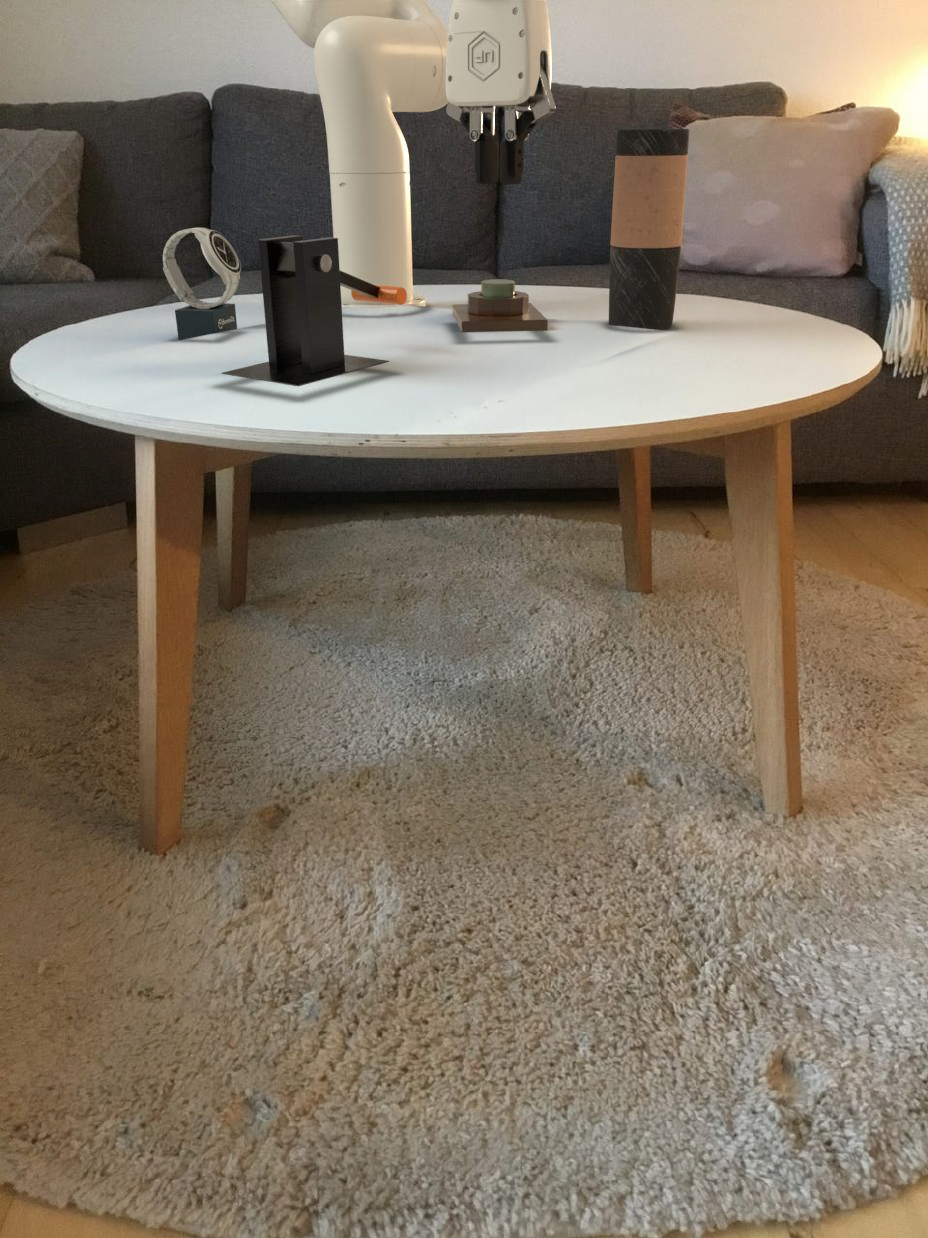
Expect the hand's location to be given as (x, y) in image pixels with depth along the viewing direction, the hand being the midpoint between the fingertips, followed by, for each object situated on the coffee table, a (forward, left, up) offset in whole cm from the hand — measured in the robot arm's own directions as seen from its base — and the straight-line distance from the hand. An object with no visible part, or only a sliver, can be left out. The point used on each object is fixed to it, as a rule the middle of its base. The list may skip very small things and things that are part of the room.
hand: (498, 182), depth 104 cm
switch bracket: (+14, -26, -15) cm, 33 cm away
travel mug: (+4, +16, -15) cm, 23 cm away
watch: (-12, -29, -15) cm, 35 cm away
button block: (0, 0, -15) cm, 15 cm away
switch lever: (+12, -22, -8) cm, 26 cm away
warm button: (0, 0, -12) cm, 12 cm away
